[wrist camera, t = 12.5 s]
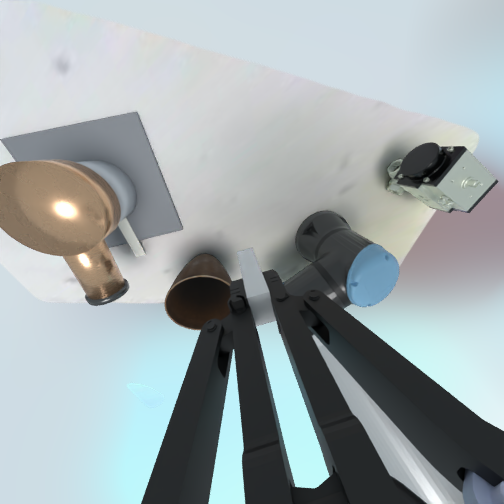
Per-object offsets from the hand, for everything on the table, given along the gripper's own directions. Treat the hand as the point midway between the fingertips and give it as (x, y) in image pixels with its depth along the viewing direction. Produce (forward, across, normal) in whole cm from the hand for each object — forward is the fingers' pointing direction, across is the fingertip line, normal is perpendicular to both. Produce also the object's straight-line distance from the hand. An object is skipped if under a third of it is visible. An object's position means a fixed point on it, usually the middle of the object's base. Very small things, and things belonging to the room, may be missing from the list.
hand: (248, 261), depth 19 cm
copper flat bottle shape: (+21, -25, +3) cm, 33 cm away
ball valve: (+33, +45, -6) cm, 56 cm away
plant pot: (+32, -12, -17) cm, 38 cm away
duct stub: (+32, -25, +6) cm, 41 cm away
